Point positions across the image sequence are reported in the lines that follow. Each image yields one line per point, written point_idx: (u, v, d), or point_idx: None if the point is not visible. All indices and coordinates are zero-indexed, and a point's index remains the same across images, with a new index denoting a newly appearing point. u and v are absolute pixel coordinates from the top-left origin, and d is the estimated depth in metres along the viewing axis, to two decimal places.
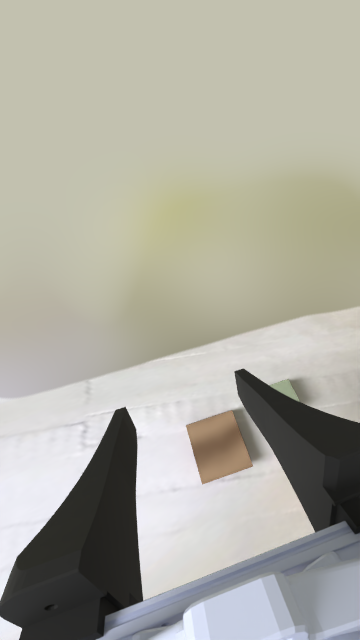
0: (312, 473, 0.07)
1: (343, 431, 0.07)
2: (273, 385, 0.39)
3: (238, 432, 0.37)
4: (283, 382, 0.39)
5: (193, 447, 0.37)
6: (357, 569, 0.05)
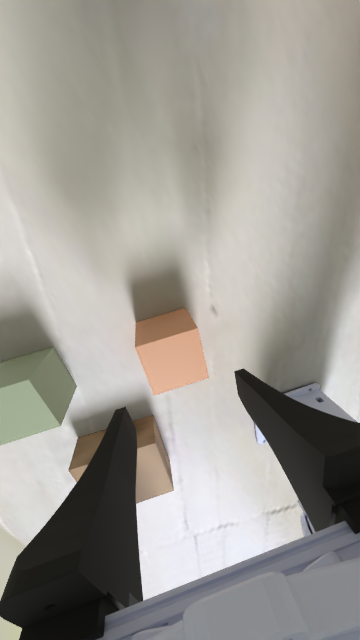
0: (312, 473, 0.07)
1: (344, 431, 0.07)
2: None
3: None
4: None
5: None
6: (357, 569, 0.05)
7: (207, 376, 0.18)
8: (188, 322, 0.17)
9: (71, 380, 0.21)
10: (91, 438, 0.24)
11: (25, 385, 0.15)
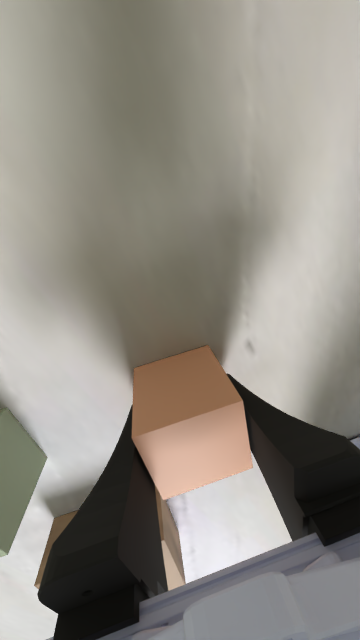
0: (285, 483, 0.07)
1: (316, 441, 0.07)
2: None
3: None
4: None
5: None
6: (357, 569, 0.05)
7: (250, 466, 0.11)
8: (221, 381, 0.10)
9: (38, 452, 0.14)
10: None
11: None
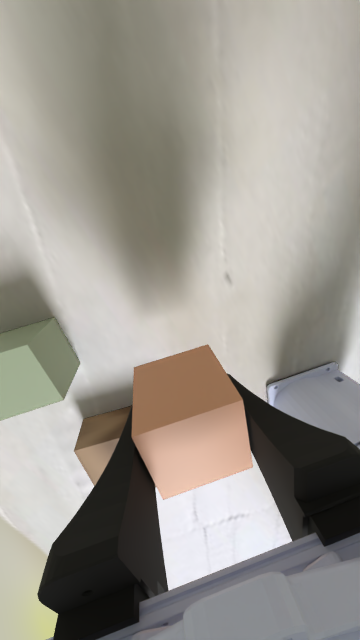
0: (285, 483, 0.07)
1: (316, 441, 0.07)
2: None
3: (114, 441, 0.20)
4: None
5: None
6: (357, 569, 0.05)
7: (250, 466, 0.11)
8: (221, 381, 0.10)
9: (74, 355, 0.19)
10: (98, 419, 0.22)
11: (23, 351, 0.14)
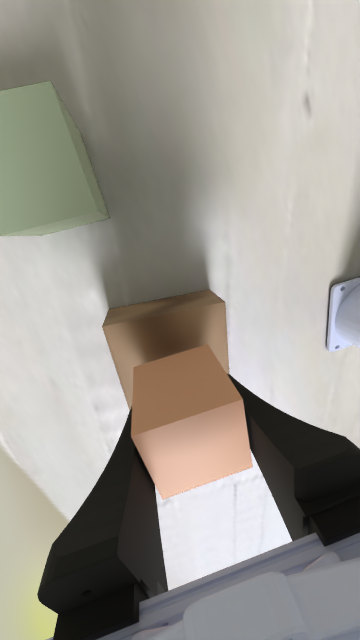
0: (286, 483, 0.07)
1: (316, 441, 0.07)
2: None
3: (155, 320, 0.15)
4: None
5: None
6: (357, 569, 0.05)
7: (250, 465, 0.11)
8: (221, 380, 0.10)
9: (103, 201, 0.15)
10: (128, 307, 0.17)
11: (44, 93, 0.09)
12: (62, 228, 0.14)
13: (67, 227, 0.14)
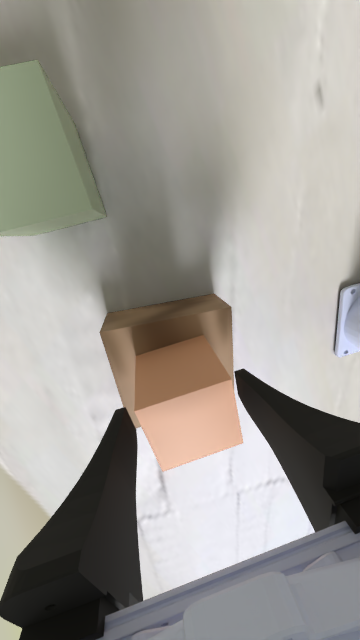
0: (312, 473, 0.07)
1: (344, 431, 0.07)
2: None
3: (156, 325, 0.14)
4: None
5: None
6: (357, 569, 0.05)
7: (241, 441, 0.12)
8: (213, 364, 0.12)
9: (100, 199, 0.13)
10: (128, 311, 0.16)
11: (31, 74, 0.08)
12: (55, 228, 0.13)
13: (61, 227, 0.13)
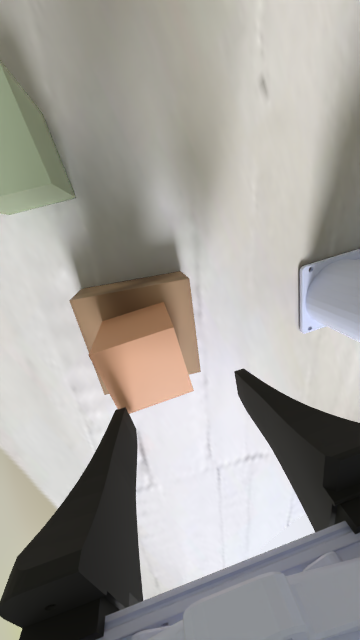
0: (312, 473, 0.07)
1: (344, 431, 0.07)
2: None
3: (121, 295, 0.16)
4: None
5: None
6: (357, 569, 0.05)
7: (191, 389, 0.14)
8: (163, 319, 0.13)
9: (68, 181, 0.15)
10: (100, 286, 0.18)
11: None
12: (27, 206, 0.15)
13: (33, 205, 0.15)
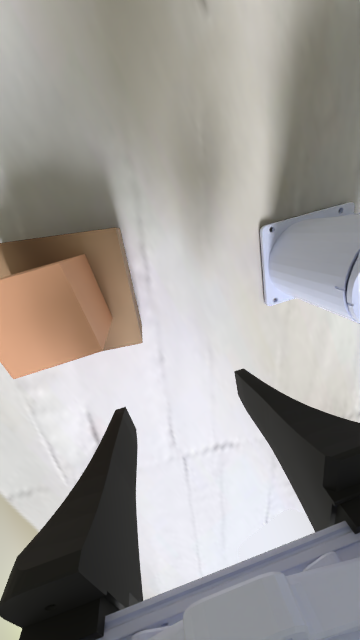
0: (312, 473, 0.07)
1: (344, 431, 0.07)
2: None
3: (33, 244, 0.13)
4: None
5: None
6: (357, 569, 0.05)
7: (99, 348, 0.12)
8: (61, 261, 0.11)
9: None
10: None
11: None
12: None
13: None
